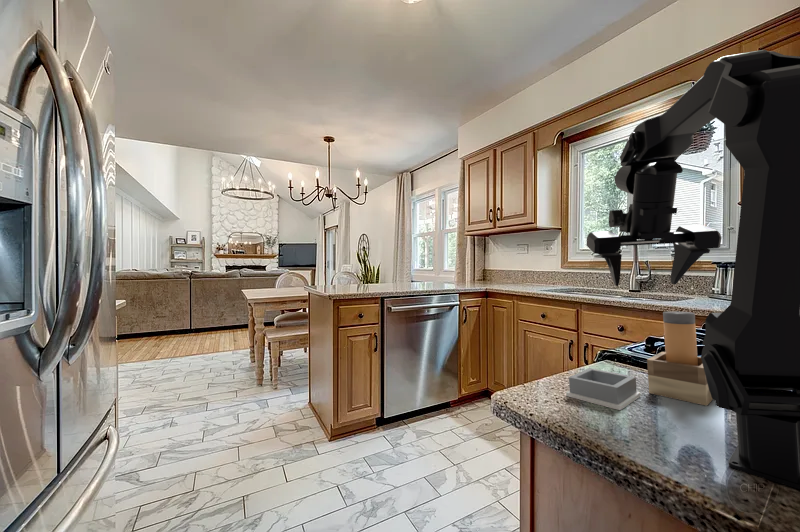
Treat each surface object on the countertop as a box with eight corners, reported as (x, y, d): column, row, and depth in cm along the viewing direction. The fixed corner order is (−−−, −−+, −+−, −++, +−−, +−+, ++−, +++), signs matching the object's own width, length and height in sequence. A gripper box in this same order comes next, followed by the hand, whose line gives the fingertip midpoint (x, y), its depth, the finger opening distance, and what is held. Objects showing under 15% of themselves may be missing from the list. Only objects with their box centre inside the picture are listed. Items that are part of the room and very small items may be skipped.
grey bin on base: (620, 410, 50) (618, 389, 50) (566, 395, 56) (565, 377, 56) (640, 396, 55) (639, 376, 55) (589, 384, 61) (588, 367, 61)
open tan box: (706, 405, 50) (704, 368, 50) (649, 393, 56) (647, 359, 56) (718, 393, 54) (716, 358, 54) (663, 382, 60) (662, 351, 60)
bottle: (694, 380, 52) (690, 315, 53) (663, 374, 56) (659, 313, 56) (701, 374, 55) (697, 312, 55) (671, 369, 58) (667, 310, 58)
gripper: (690, 188, 63) (680, 267, 68) (580, 198, 68) (577, 271, 73) (731, 197, 53) (715, 289, 58) (597, 207, 58) (593, 292, 62)
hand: (644, 284), depth 63 cm, fingers open, 9 cm apart
